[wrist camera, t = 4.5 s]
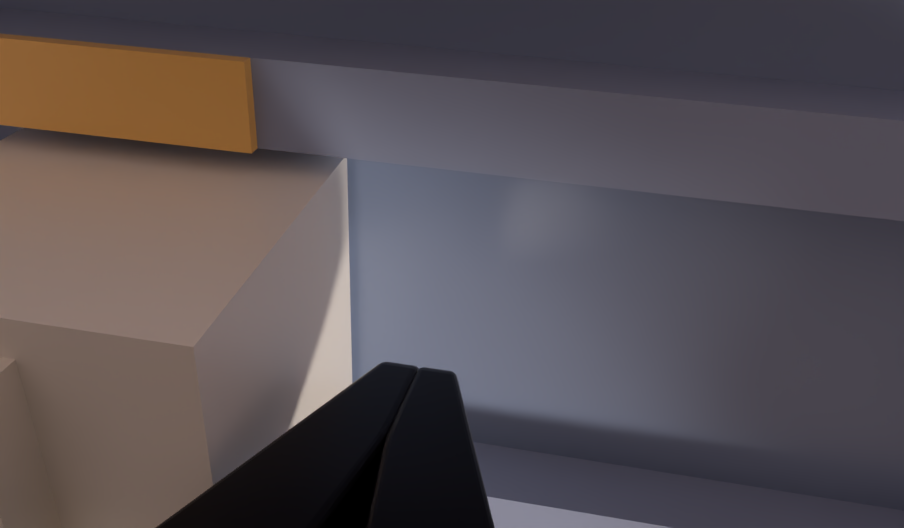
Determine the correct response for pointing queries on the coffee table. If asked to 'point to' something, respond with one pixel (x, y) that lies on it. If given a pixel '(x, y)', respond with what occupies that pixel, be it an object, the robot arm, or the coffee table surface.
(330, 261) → the beige block with handle
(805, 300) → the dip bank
